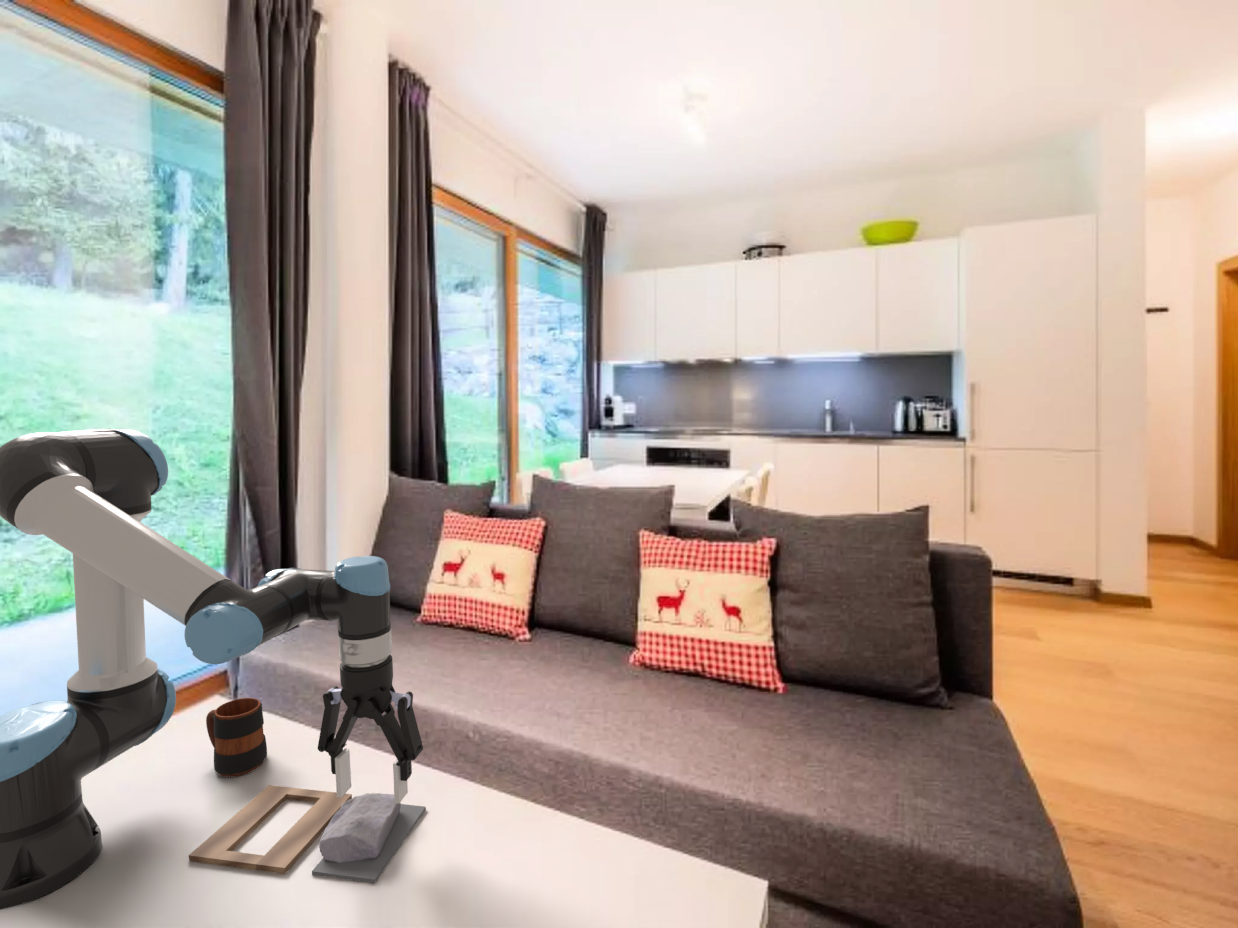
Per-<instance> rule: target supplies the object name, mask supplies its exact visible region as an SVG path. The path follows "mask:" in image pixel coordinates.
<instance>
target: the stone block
mask: <svg viewBox="0 0 1238 928" xmlns="http://www.w3.org/2000/svg"><path fill="white" fill-rule="evenodd" d="M401 804H402V803H401V802H400V803H399V804H397V803H395V799H394V793H382V792H380V793H376V792H375V793H374V792H371V793H364V794H361V795H358V796H354V797H352V799H349V800H348V801H346V802H345V803H343V804H342V805H341V808H340V809H339V810H338V811H337V812H336V813H335V815H334V816H333V817H332V819H331V821H330V822H329V825H328V826H327V827H326V828H325V830H324V831H323V832H322V835H321V838H320V840H319V847H318V848H319V852H320V855H321V857H322V859H323V858H324V860H329V861H333V862H337V863H343V862H350V861H362V860H367V859H375V858H377V857H378V855H379V854H380V852H381V850H382V848H383V845H384V843H385V841H386V839H387V837H388V835H389V833H390V831H391V829H392V827H393V824H394V823H395V820H396V818H397V816H398V814H399V812H400V807H401Z"/></svg>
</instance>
